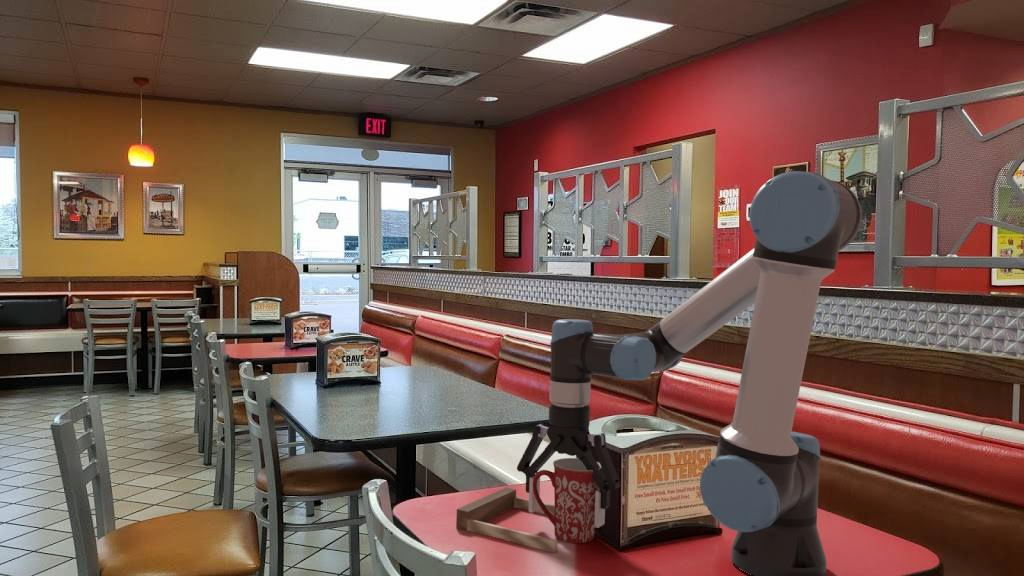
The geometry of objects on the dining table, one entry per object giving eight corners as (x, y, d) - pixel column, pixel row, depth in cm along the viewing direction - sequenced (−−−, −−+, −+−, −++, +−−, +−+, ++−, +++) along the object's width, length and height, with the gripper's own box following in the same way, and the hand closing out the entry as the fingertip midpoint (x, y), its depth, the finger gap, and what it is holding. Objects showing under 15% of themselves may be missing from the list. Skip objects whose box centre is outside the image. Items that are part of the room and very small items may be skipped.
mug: (600, 529, 141) (602, 459, 140) (599, 547, 132) (601, 471, 132) (533, 524, 143) (536, 454, 142) (528, 541, 134) (530, 467, 133)
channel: (597, 525, 143) (598, 507, 143) (554, 553, 129) (555, 533, 128) (505, 503, 154) (505, 487, 154) (456, 527, 140) (456, 509, 139)
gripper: (641, 409, 133) (637, 526, 134) (521, 393, 146) (518, 499, 147) (624, 415, 127) (620, 538, 127) (501, 398, 140) (497, 509, 140)
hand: (565, 518), depth 137 cm, fingers open, 13 cm apart
